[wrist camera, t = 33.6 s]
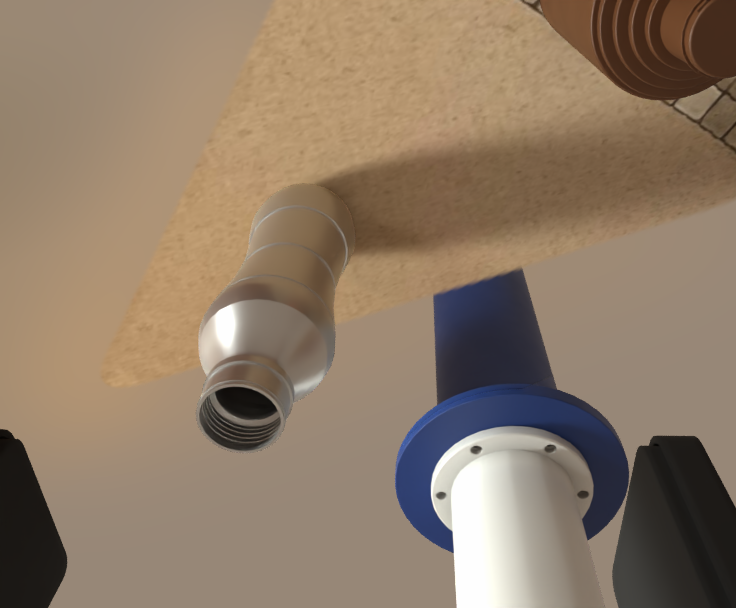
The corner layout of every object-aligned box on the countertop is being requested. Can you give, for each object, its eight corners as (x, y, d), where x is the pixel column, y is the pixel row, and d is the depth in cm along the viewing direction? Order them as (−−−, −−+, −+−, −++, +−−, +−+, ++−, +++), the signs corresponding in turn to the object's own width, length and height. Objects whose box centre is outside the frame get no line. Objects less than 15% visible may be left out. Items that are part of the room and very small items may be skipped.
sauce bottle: (688, -35, 36) (895, 10, 20) (598, 67, 38) (720, 175, 23) (599, -118, 34) (751, -140, 19) (513, -6, 37) (581, 57, 21)
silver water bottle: (239, 224, 45) (127, 421, 28) (303, 151, 42) (223, 320, 25) (313, 283, 47) (252, 503, 30) (380, 217, 44) (355, 418, 27)
